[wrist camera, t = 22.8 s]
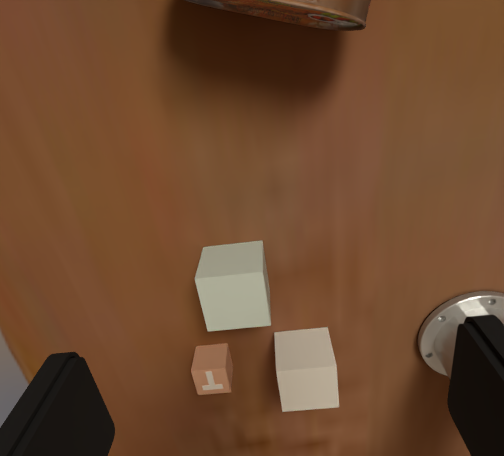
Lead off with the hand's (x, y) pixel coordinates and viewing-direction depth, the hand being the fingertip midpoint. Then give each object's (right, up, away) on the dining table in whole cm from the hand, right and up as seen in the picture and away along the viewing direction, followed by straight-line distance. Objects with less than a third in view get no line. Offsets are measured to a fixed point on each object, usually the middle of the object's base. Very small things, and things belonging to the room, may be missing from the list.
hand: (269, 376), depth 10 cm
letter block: (-5, -12, +38) cm, 40 cm away
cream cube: (+6, -11, +37) cm, 39 cm away
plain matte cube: (-2, -1, +32) cm, 32 cm away
